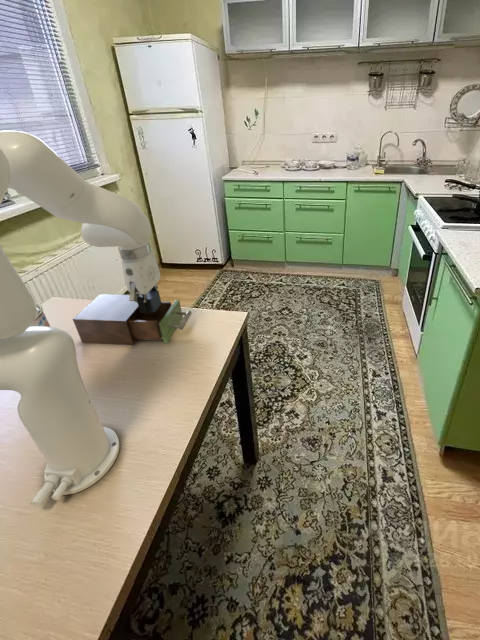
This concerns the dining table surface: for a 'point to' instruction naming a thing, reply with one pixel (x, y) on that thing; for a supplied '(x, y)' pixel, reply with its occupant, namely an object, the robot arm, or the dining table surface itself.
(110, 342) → the cabinet
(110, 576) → the dining table surface
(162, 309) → the drawer
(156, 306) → the block
